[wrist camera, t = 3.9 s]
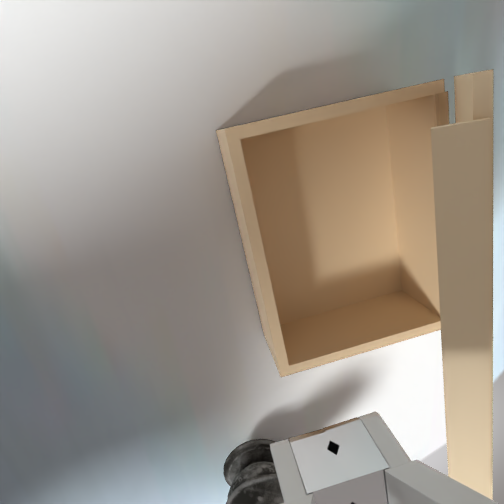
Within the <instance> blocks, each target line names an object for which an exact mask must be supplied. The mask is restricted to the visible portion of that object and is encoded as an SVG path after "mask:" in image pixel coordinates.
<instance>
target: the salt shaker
mask: <svg viewBox="0 0 504 504" xmlns="http://www.w3.org/2000/svg"><path fill="white" fill-rule="evenodd" d="M272 443H275V442H274V441H271V440H265V439H260V440H252V441H249V442H246V443H244V444H242V445H240V446H238V447H237V448H236V449H235V450H233V451H232V452H231V453H230V455H229V456H228V458H227V459H226V462H225V464H224V477H225V480H226V482H227V483H228V484H229V486H231V487H230V490H229V494H228V500H227V502H226V504H281V503H284V499H283V496H282V492H281V488H280V484H279V480H278V476H277V473H276V469H275V465H274V461H273V457H272V453H271V449H270V444H272Z"/></svg>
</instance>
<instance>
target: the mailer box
mask: <svg viewBox="0 0 504 504" xmlns="http://www.w3.org/2000/svg"><path fill="white" fill-rule="evenodd" d="M443 125H449V104H448V91H447V92H445V88H444V79H441V80H436V81H432V82H427V83H423V84H418V85H414V86H409V87H405V88H400V89H396V90H391V91H387V92H383V93H378V94H374V95H369V96H365V97H361V98H356V99H352V100H348V101H343V102H339V103H334V104H330V105H326V106H321V107H317V108H312V109H308V110H304V111H299V112H295V113H291V114H286V115H282V116H277V117H273V118H269V119H264V120H260V121H255V122H251V123H247V124H242V125H238V126H233V127H229V128H225V129H220V130H216V133H217V137H218V142H219V146H220V150H221V154H222V159H223V163H224V167H225V171H226V176H227V180H228V184H229V188H230V193H231V197H232V201H233V205H234V210H235V214H236V218H237V222H238V227H239V231H240V235H241V239H242V244H243V248H244V252H245V256H246V261H247V265H248V269H249V273H250V278H251V282H252V286H253V291H254V295H255V299H256V303H257V308H258V312H259V316H260V320H261V325H262V329H263V333H264V336H265V339H266V341H267V344H268V346H269V349H270V351H271V354H272V356H273V359H274V361H275V364H276V366H277V369H278V371H279V374H280V376H281V377H284V376H287V375H290V374H294V373H297V372H301V371H304V370H307V369H311V368H314V367H317V366H321V365H324V364H327V363H331V362H334V361H337V360H341V359H344V358H347V357H351V356H354V355H357V354H361V353H364V352H368V351H371V350H374V349H378V348H381V347H384V346H388V345H391V344H394V343H398V342H401V341H404V340H408V339H411V338H414V337H418V336H421V335H424V334H428V333H431V332H434V331H438V330H441V321H440V302H439V282H438V263H437V243H436V224H435V204H434V185H433V166H432V146H431V127H437V126H443Z"/></svg>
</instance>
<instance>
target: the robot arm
mask: <svg viewBox="0 0 504 504" xmlns="http://www.w3.org/2000/svg"><path fill="white" fill-rule="evenodd" d="M270 449H271V453H272V457H273V461H274V465H275V469H276V473H277V476H278V480H279V484H280V488H281V492H282V496H283V499H284V503H281V504H499V503H497V502H495V501H493V500H491V499H489V498H488V497H486V496H484V495H482V494H480V493H478V492H476V491H475V490H473V489H471V488H469V487H467V486H465V485H463V484H461V483H460V482H458V481H456V480H454V479H452V478H450V477H448V476H447V475H445V474H443V473H441V472H439V471H437V470H435V469H433V468H432V467H430V466H428V465H426V464H424V463H422V462H421V461H419V460H414V461H411V460H410V458H409V457H408V455H407V454H406V453H405V451H404V450H403V448H402V447H401V445H400V444H399V442H398V441H397V439H396V438H395V437H394V435H393V434H392V432H391V431H390V429H389V428H388V426H387V425H386V423H385V422H384V420H383V419H382V418H381V416H380V415H379V414H378V413H377V412H373V413H370V414H366V415H363V416H360V417H358V418H357V417H356V418H353V419H350V420H347V421H344V422H341V423H338V424H335V425H332V426H329V427H325V428H323V429H320V430H317V431H313V432H310V433H306V434H302V435H299V436H295V437H292V438H288V439H286V440H282V441H279V442H275V443H272V444H270Z"/></svg>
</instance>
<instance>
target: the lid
mask: <svg viewBox="0 0 504 504" xmlns="http://www.w3.org/2000/svg"><path fill="white" fill-rule="evenodd" d="M454 89H455V122H456V123H454V124H449V125H443V126H437V127H431V146H432V166H433V185H434V204H435V224H436V243H437V263H438V282H439V302H440V321H441V340H442V360H443V379H444V399H445V418H446V437H447V457H448V476H449V477H450V478H452V479H454V480H456V481H458V482H460V483H461V484H463V485H465V486H467V487H469V488H471V489H473V490H475V491H476V492H478V493H480V494H482V495H484V496H486V497H488V498H489V499H491V500H493V498H492V497H493V494H492V493H493V484H492V483H493V480H492V479H493V474H492V473H493V470H492V469H493V69H491V70H486V71H480V72H474V73H469V74H463V75H459V76H454Z"/></svg>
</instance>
